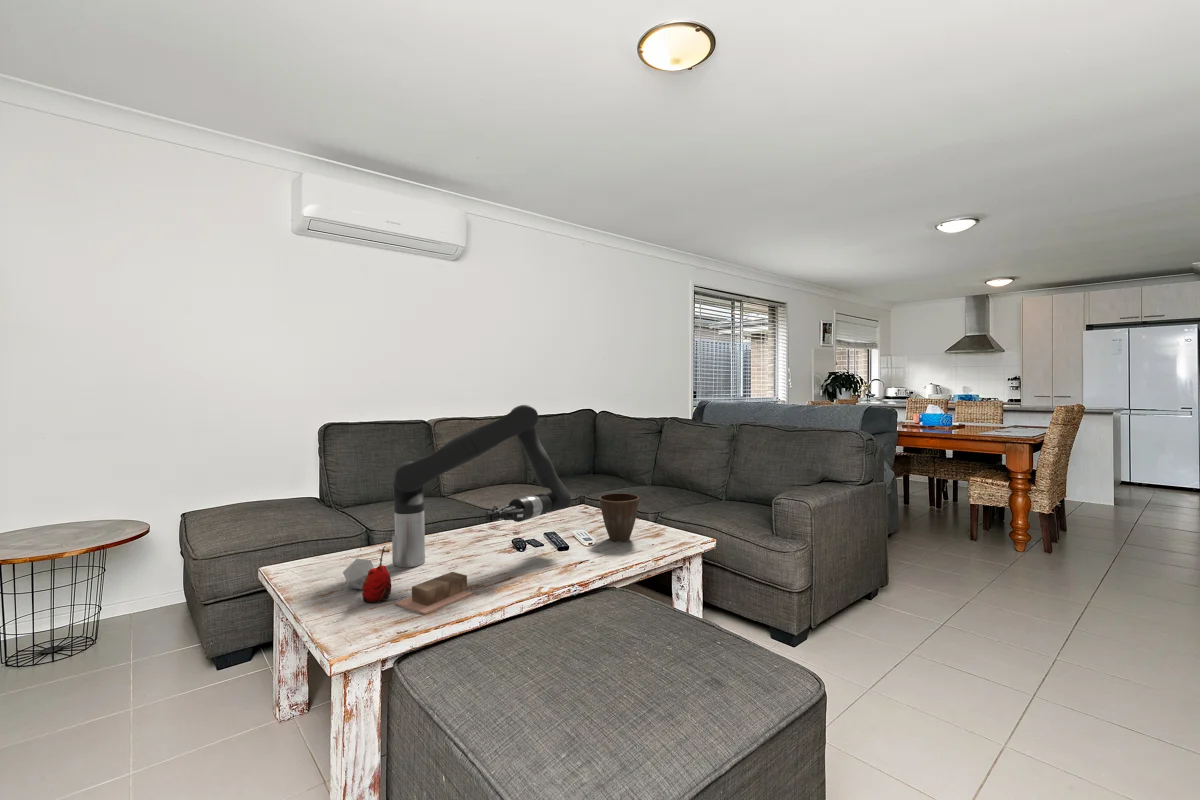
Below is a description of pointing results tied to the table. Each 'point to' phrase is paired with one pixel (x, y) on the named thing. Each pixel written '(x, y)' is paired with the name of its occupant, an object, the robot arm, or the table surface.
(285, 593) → the table surface
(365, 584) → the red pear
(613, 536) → the plant pot
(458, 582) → the walnut block
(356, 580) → the die
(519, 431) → the robot arm
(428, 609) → the felt mat
